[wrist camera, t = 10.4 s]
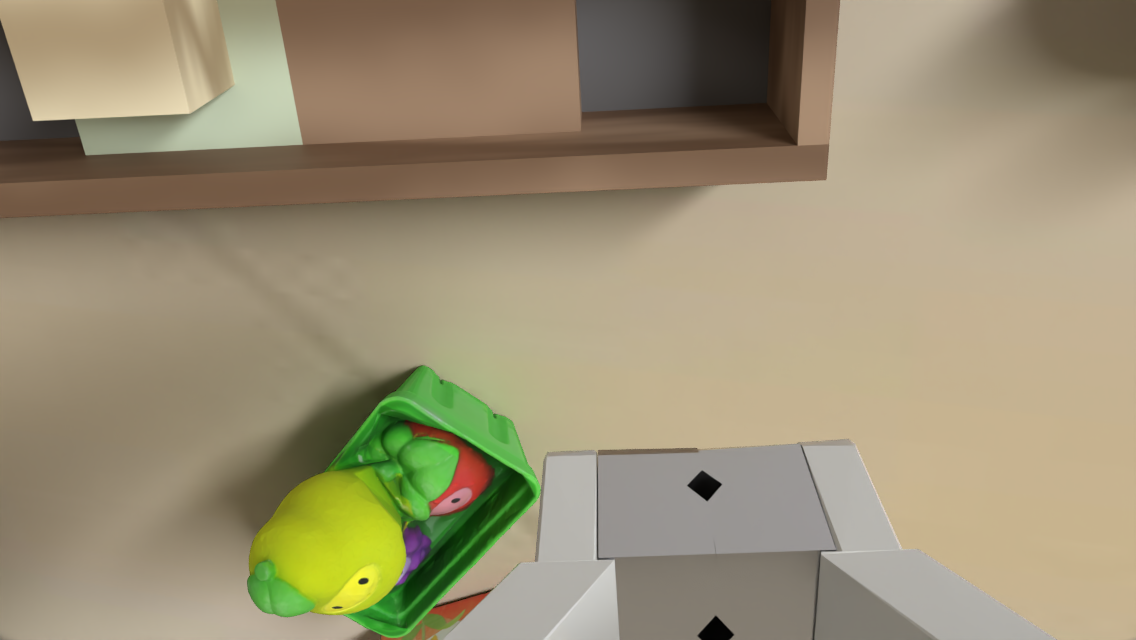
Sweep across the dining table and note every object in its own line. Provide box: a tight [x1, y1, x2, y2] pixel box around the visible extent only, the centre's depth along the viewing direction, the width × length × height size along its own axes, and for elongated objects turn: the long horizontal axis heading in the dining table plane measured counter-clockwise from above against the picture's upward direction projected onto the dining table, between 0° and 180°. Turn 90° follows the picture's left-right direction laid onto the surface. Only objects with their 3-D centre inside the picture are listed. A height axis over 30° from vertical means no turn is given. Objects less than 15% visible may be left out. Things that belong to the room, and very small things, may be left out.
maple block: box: [0, 0, 235, 121], centre depth 29 cm, size 5×5×4 cm
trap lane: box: [0, 0, 840, 218], centre depth 31 cm, size 11×34×6 cm, turn 93°
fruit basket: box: [247, 366, 541, 638], centre depth 37 cm, size 11×9×11 cm
